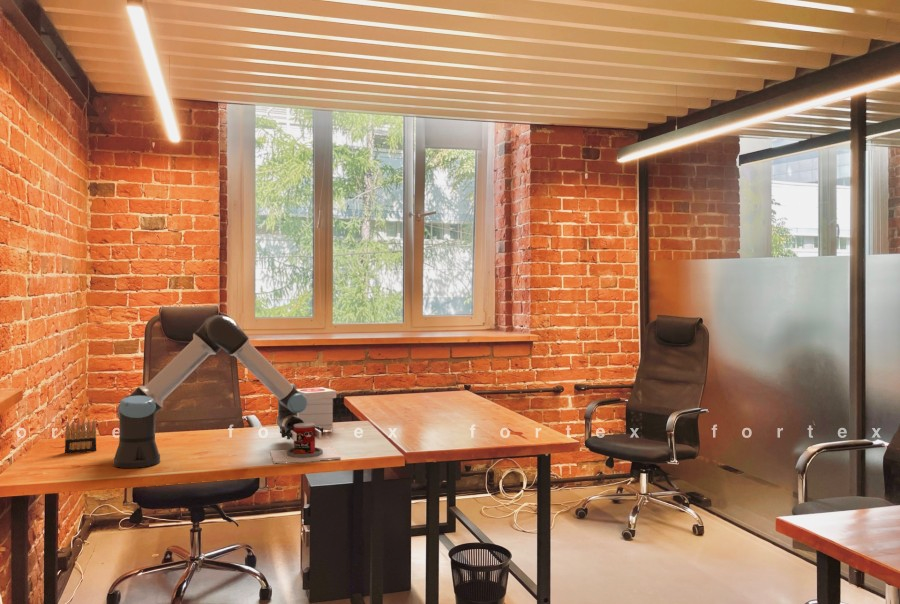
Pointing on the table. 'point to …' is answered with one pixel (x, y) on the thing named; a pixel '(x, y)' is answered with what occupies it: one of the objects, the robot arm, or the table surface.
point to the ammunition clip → (80, 438)
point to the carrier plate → (304, 455)
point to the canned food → (304, 438)
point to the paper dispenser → (318, 407)
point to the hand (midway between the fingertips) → (308, 436)
